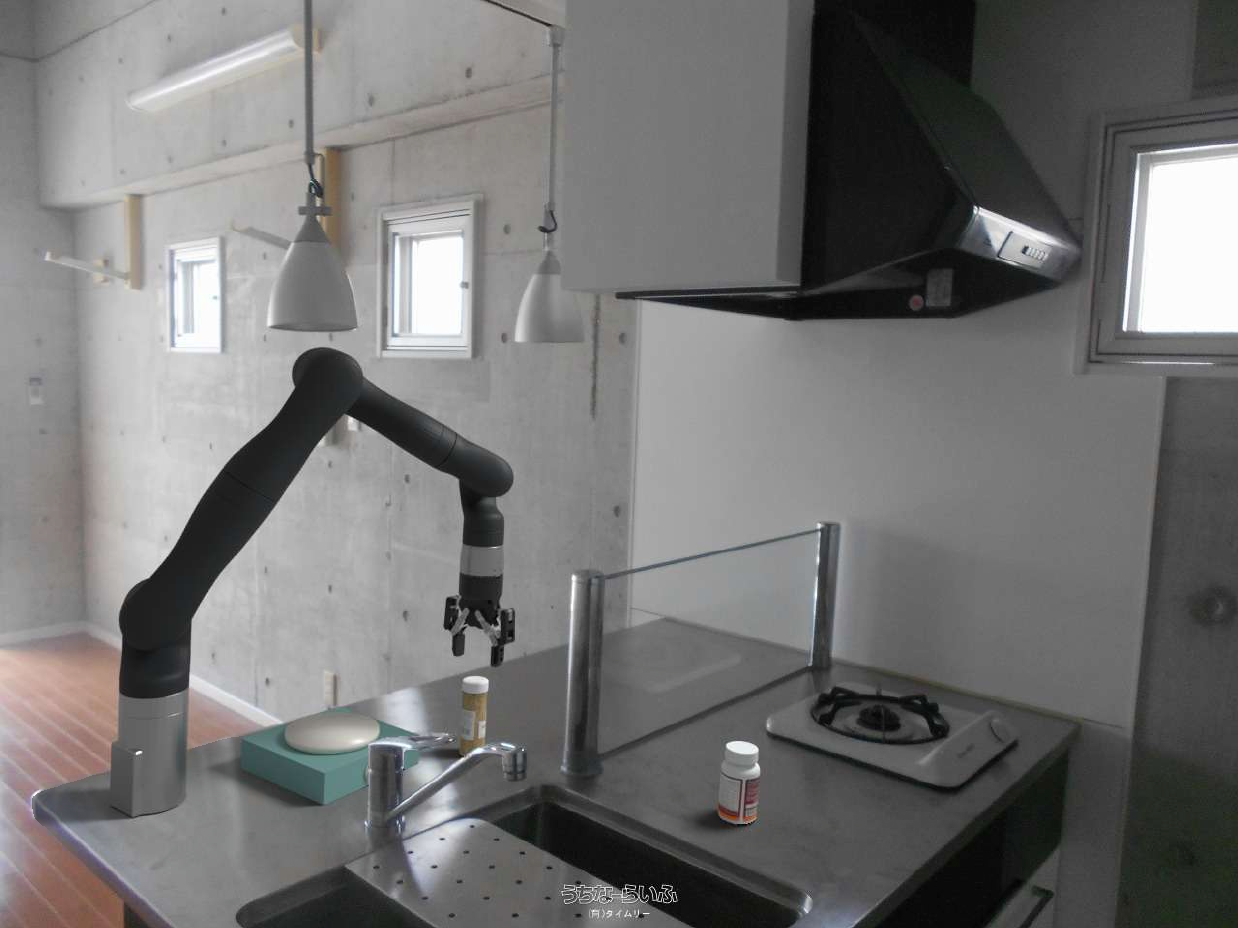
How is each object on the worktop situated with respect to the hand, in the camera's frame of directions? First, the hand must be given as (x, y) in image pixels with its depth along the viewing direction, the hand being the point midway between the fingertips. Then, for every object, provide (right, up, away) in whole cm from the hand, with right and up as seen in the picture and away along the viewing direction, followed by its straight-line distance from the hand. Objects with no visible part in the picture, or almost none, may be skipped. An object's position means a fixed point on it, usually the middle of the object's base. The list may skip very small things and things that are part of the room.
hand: (477, 660), depth 158 cm
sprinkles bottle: (-1, -17, +1) cm, 17 cm away
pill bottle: (+43, -21, -16) cm, 51 cm away
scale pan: (-23, -11, -8) cm, 26 cm away
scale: (-23, -16, -7) cm, 29 cm away
